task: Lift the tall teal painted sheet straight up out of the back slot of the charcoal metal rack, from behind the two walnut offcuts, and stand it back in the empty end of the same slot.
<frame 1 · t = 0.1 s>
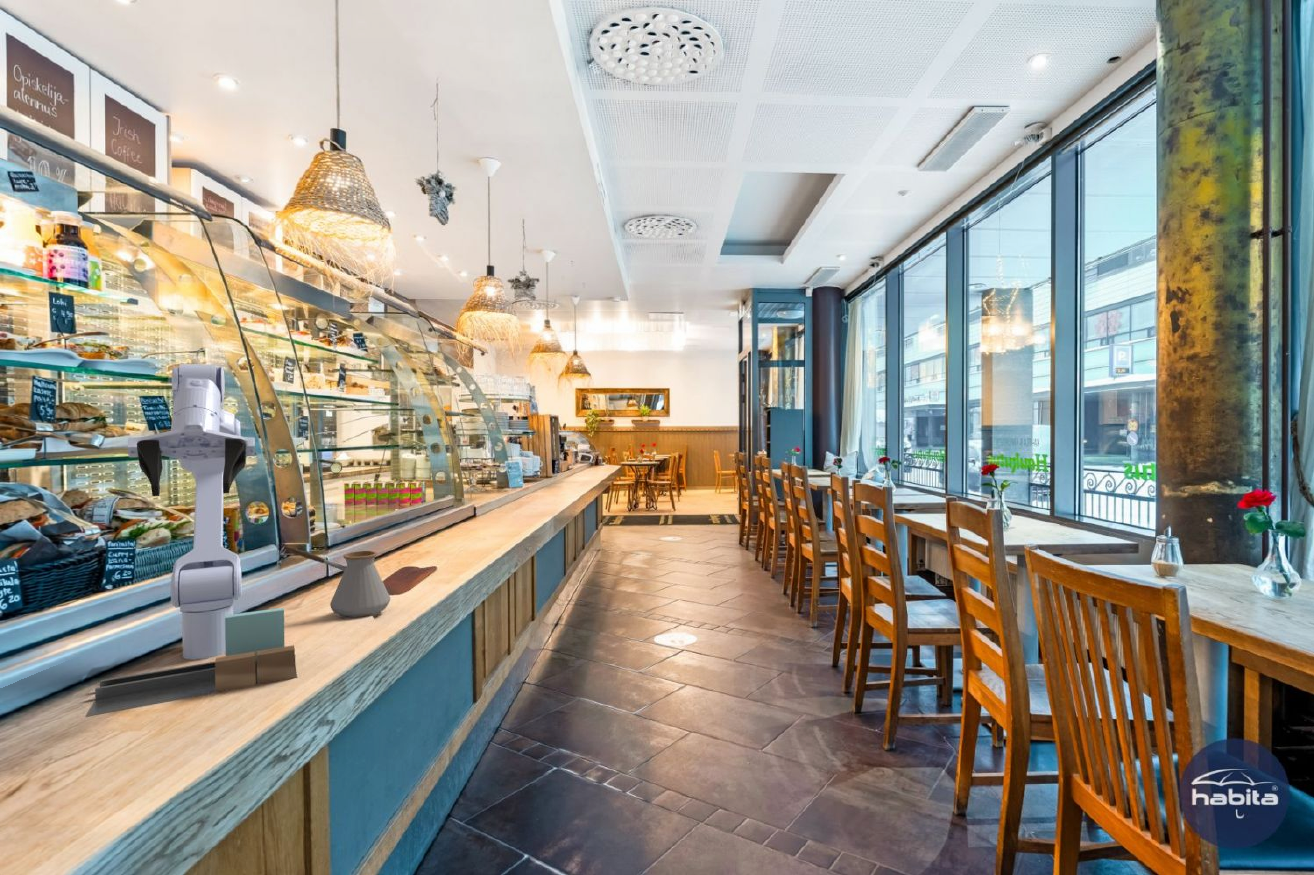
hand: (191, 489, 85), 32 cm above the counter, tool tilted 50°, fingers open, 7 cm apart
offcut b: (276, 678, 99), point 1 cm above the counter, touching rack
offcut a: (236, 686, 96), point 1 cm above the counter, touching rack
coffee pot: (336, 616, 133), on the counter
wooden tablet: (402, 584, 161), on the counter
tall sheet: (256, 667, 103), point 1 cm above the counter, touching rack
rack: (202, 688, 97), on the counter
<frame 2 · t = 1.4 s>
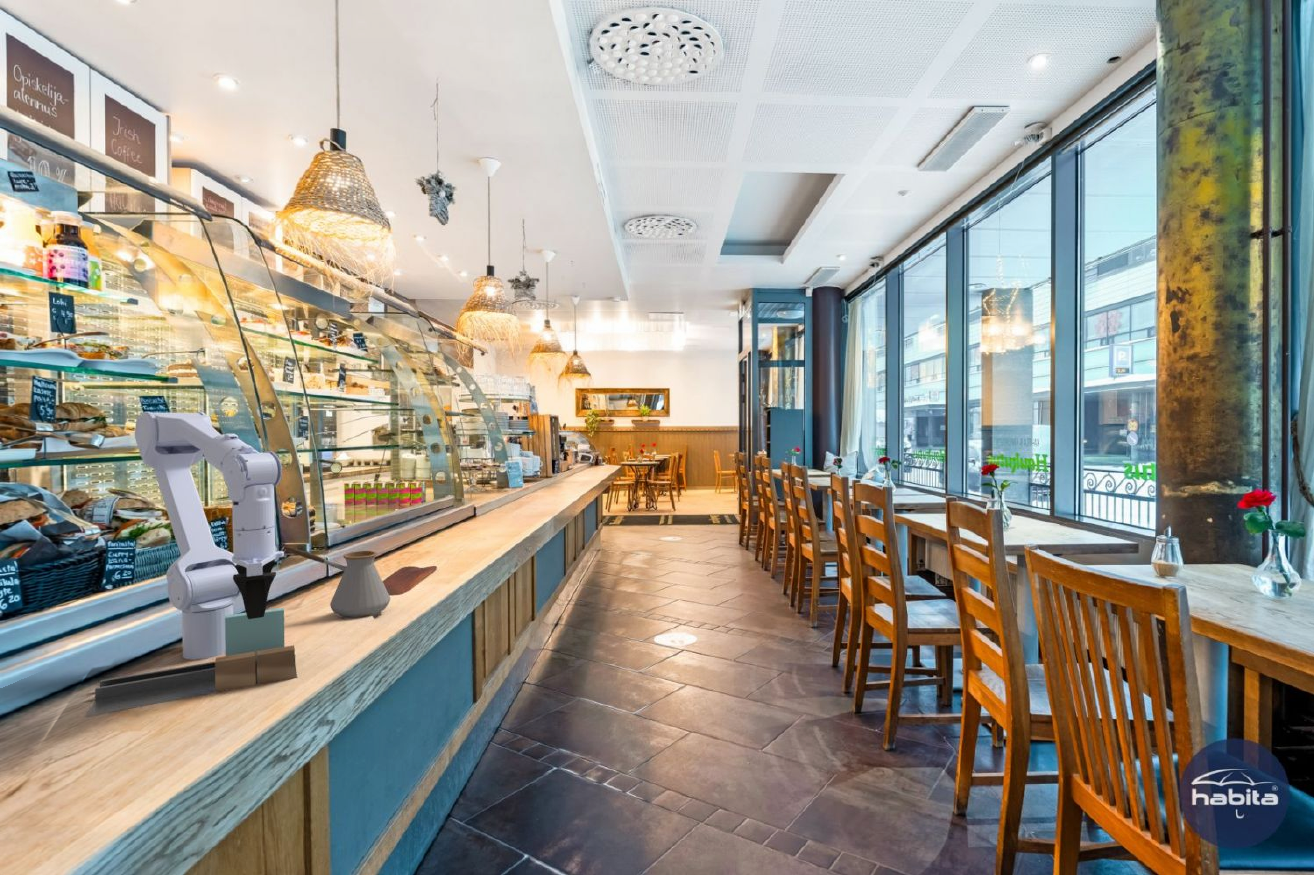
hand: (256, 611, 103), 10 cm above the counter, tool pointing down, fingers open, 7 cm apart
nothing on the counter moved.
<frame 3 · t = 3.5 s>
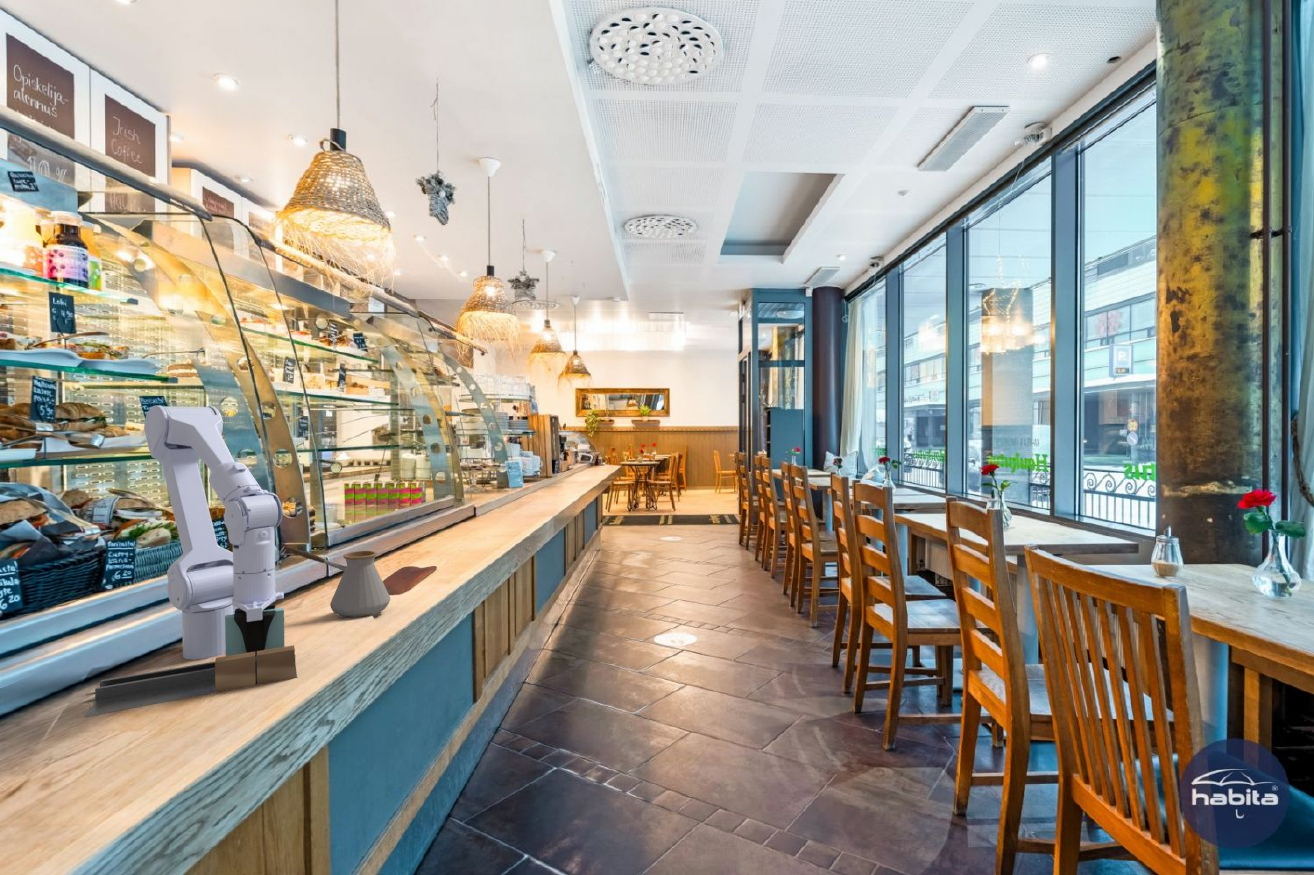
hand: (255, 652, 103), 3 cm above the counter, tool pointing down, fingers closed on tall sheet, 1 cm apart
tall sheet: (256, 667, 103), point 1 cm above the counter, touching gripper, rack
everything else where it was.
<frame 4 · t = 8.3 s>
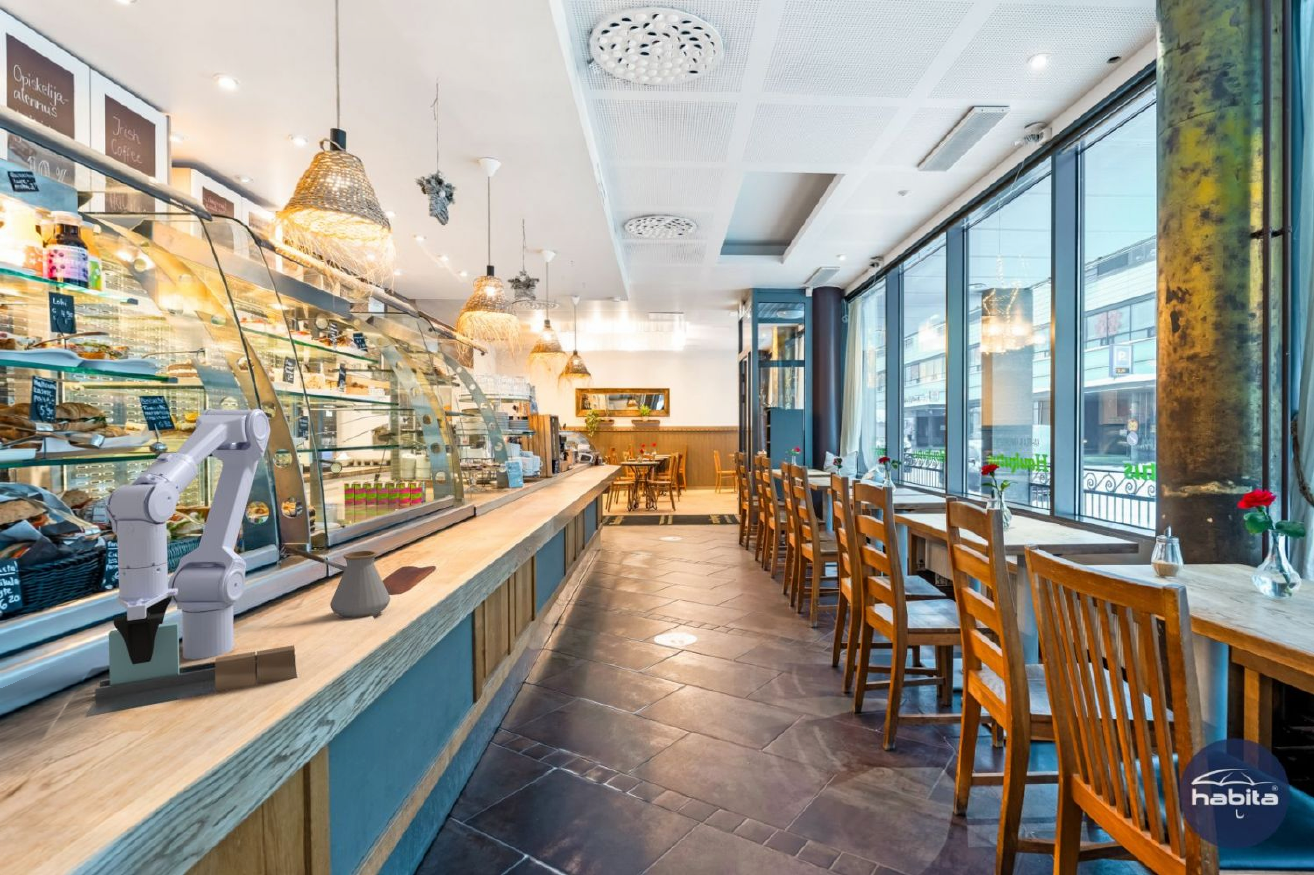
hand: (145, 653, 96), 6 cm above the counter, tool pointing down, fingers open, 7 cm apart
tall sheet: (145, 686, 96), point 1 cm above the counter, touching rack
everything else where it was.
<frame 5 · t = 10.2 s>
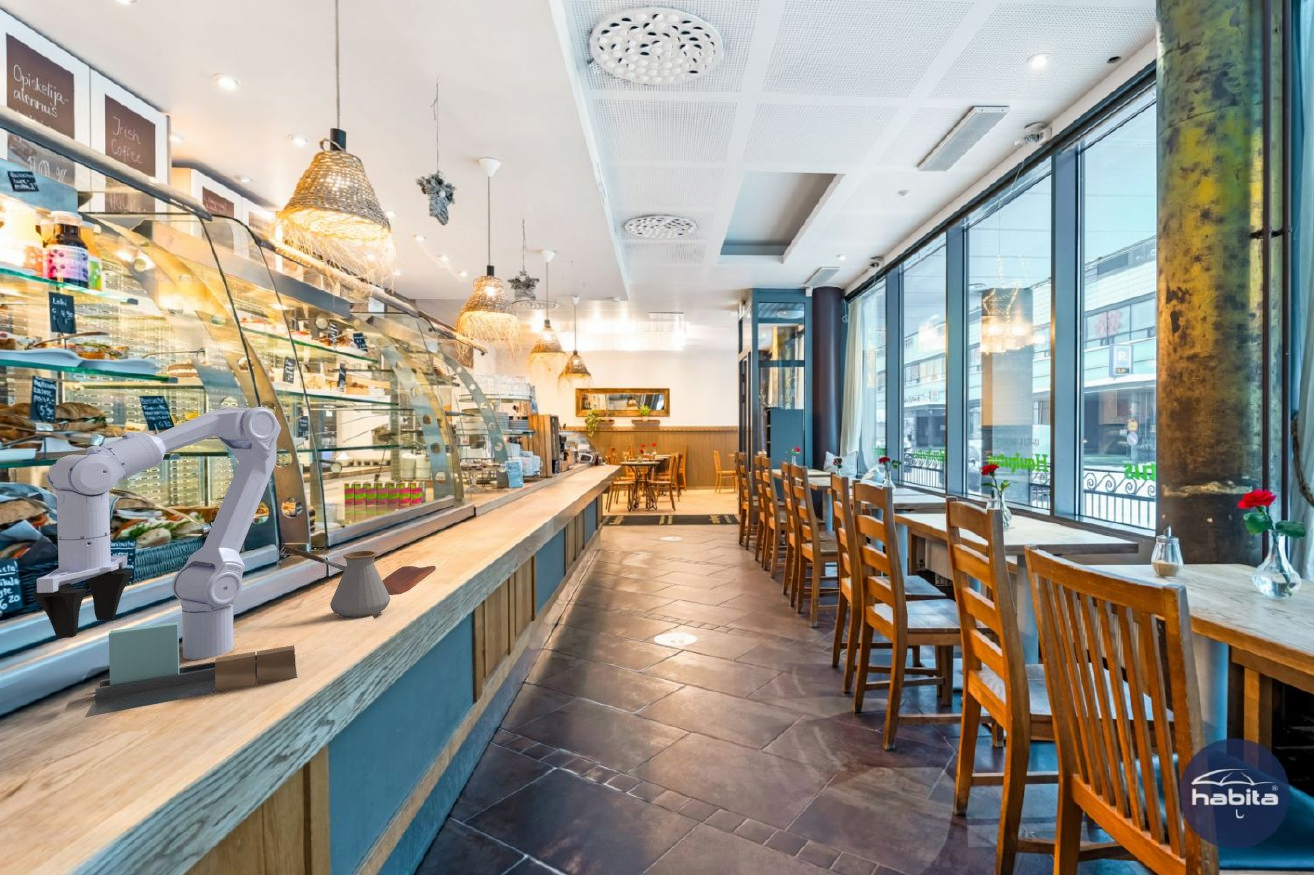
hand: (86, 627, 94), 10 cm above the counter, tool pointing down, fingers open, 7 cm apart
nothing on the counter moved.
at the end: tall sheet 0.0 cm from the target spot, point 1.0 cm above the counter; tall sheet tilted 0°; the gripper is holding nothing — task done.
